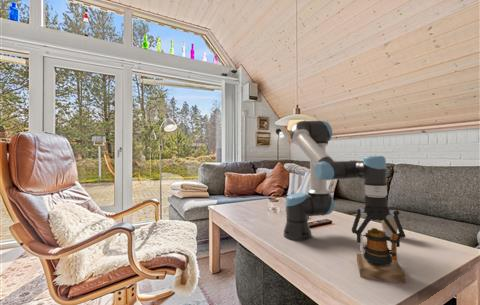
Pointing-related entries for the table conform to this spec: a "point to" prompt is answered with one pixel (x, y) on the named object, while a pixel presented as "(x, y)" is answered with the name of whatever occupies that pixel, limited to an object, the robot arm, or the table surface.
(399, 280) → the base
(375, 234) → the mug
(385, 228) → the coffee cup
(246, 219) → the table surface
